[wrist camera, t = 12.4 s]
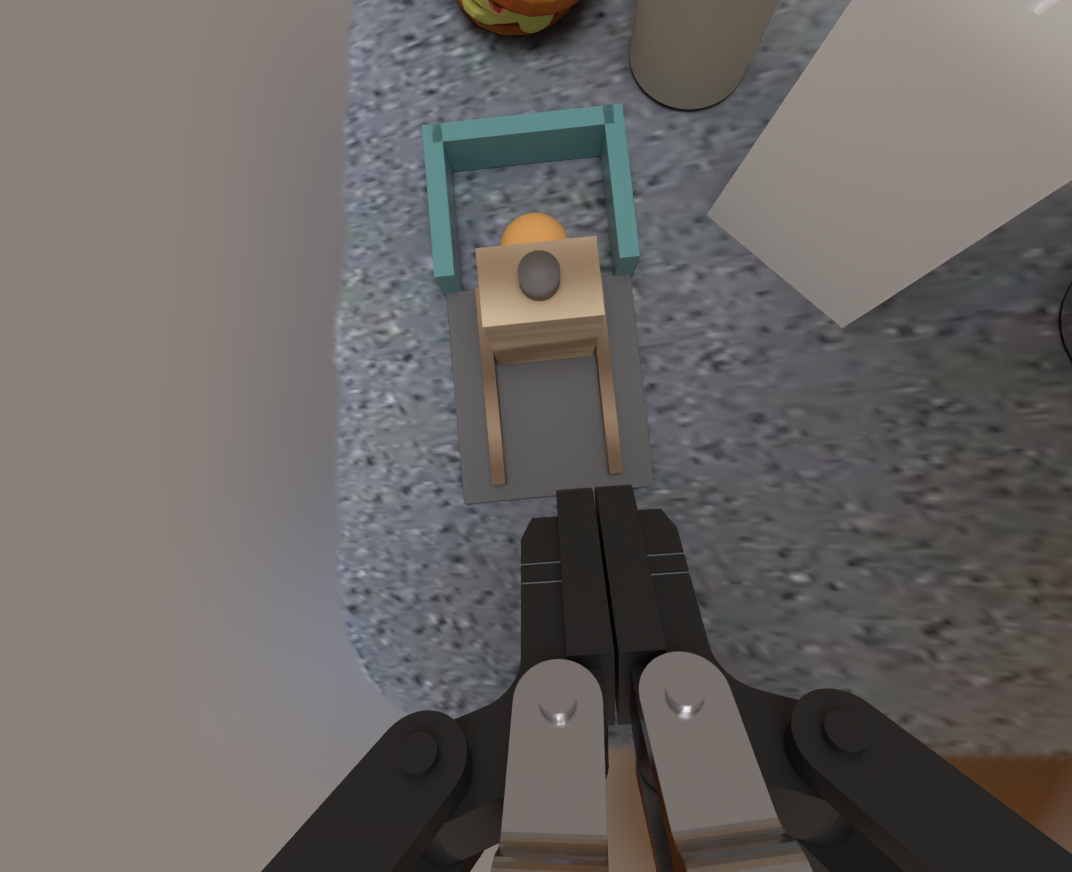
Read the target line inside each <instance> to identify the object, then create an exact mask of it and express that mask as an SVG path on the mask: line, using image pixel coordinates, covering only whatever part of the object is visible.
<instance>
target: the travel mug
mask: <svg viewBox="0 0 1072 872" xmlns="http://www.w3.org/2000/svg"><path fill="white" fill-rule="evenodd" d="M778 1H779V0H638V3H637V8H636V14H635V20H634V26H633V31H632V37H631V43H630V50H629V57H630V65H631V68H632V71H633V74H634V76H635V78H636V80H637V82H638V83H639V85H640V86H641V87H642V89H643V90H644V91H645V92H646V93H647V94H649V95H650V96H651V97H652V98H654V99H655V100H657V101H659V102H660V103H662V104H665V105H667V106H670V107H674V108H679V109H699V108H704V107H708V106H711V105H713V104H715V103H718V102H719V101H721V100H723V99H724V98H726V97H727V96H728V95H729V94H731V93H732V92H733V91H734V90H735V89H736V87H737V86H738V85H739V83H740V82H741V80H742V78H743V76H744V74H745V72H746V70H747V68H748V65H749V63H750V61H751V59H752V57H753V55H754V52H755V50H756V48H757V46H758V44H759V42H760V40H761V37H762V35H763V33H764V31H765V29H766V27H767V24H768V22H769V20H770V18H771V16H772V14H773V12H774V9H775V7H776V5H777V3H778Z"/></svg>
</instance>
